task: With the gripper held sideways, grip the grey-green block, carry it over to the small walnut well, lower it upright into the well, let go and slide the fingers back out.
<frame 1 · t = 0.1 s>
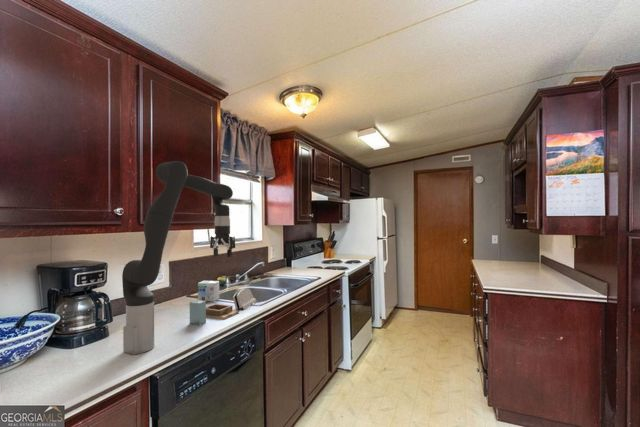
hand: (222, 256, 157), 29 cm above the counter, tool pointing down, fingers open, 8 cm apart
grey-green block: (197, 323, 144), on the counter
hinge: (244, 306, 172), on the counter
light bulb box: (208, 300, 186), on the counter
well: (217, 314, 157), on the counter
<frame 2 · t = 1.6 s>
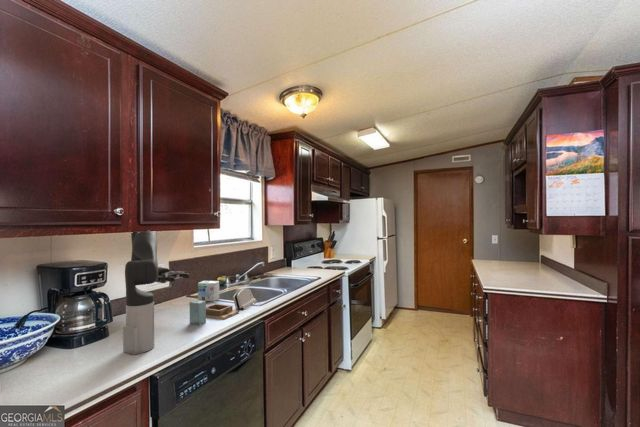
hand: (181, 277, 149), 20 cm above the counter, tool horizontal, fingers open, 8 cm apart
nothing on the counter moved.
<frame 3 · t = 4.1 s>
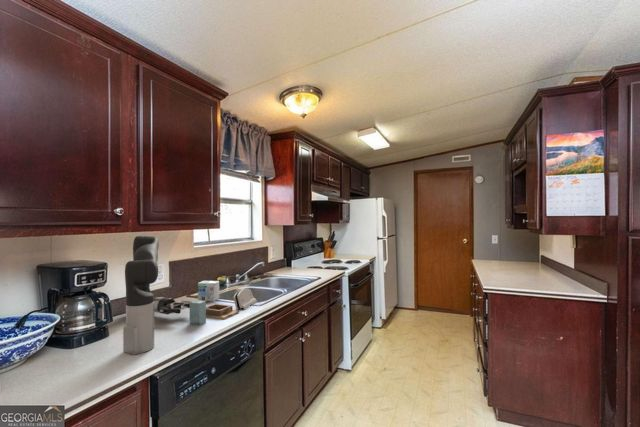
hand: (187, 308, 147), 6 cm above the counter, tool horizontal, fingers open, 8 cm apart
nothing on the counter moved.
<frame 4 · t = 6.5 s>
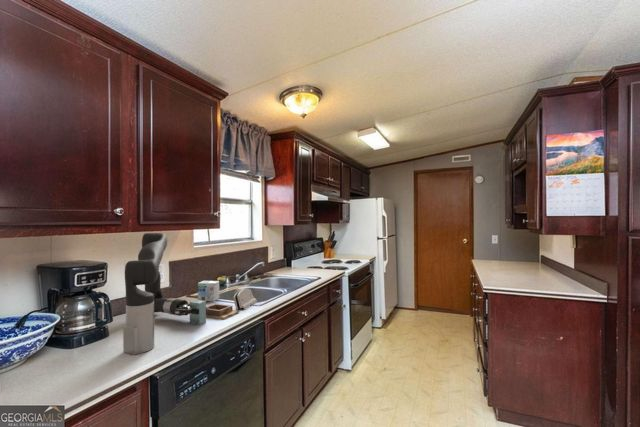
hand: (202, 310, 143), 6 cm above the counter, tool horizontal, fingers closed on grey-green block, 4 cm apart
grey-green block: (197, 322, 144), on the counter, touching gripper
everything else where it was.
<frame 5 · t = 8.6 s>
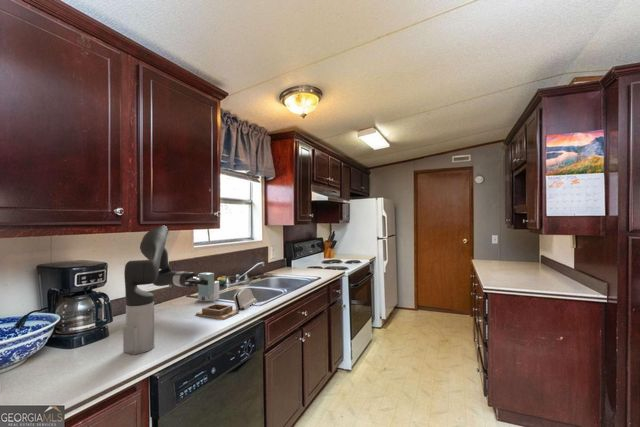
hand: (210, 282, 150), 18 cm above the counter, tool horizontal, fingers closed on grey-green block, 4 cm apart
grey-green block: (206, 293, 151), point 12 cm above the counter, touching gripper
everything else where it was.
when the fingers open (9 cm above the counter, at t = 11.1 s): grey-green block drops 2 cm, resting on well.
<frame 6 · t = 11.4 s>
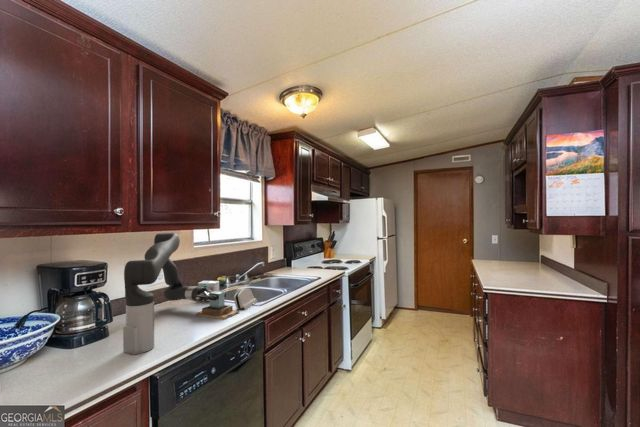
hand: (221, 296, 156), 9 cm above the counter, tool horizontal, fingers open, 6 cm apart
grey-green block: (217, 312, 157), point 1 cm above the counter, touching well
everything else where it was.
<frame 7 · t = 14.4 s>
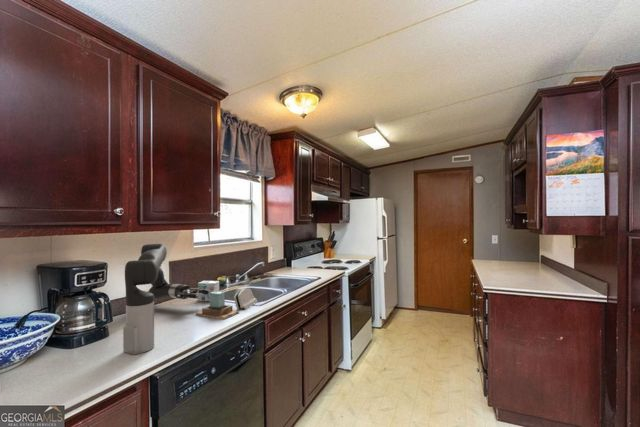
hand: (202, 294, 162), 9 cm above the counter, tool horizontal, fingers open, 8 cm apart
nothing on the counter moved.
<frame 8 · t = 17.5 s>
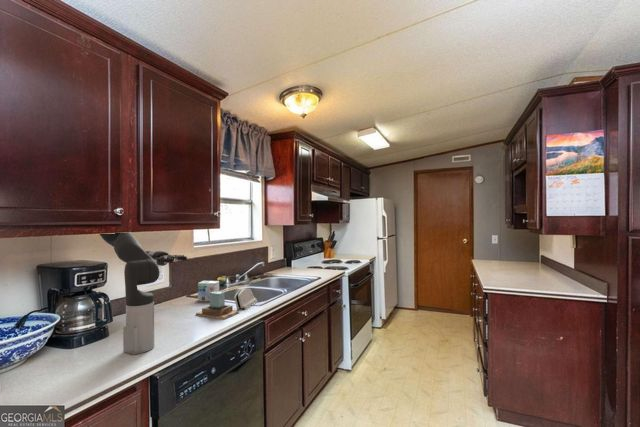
hand: (179, 259, 157), 28 cm above the counter, tool horizontal, fingers open, 8 cm apart
nothing on the counter moved.
at the end: grey-green block 0.1 cm off-centre on the well, point 1.0 cm above the well's base; grey-green block tilted 0°; the gripper is holding nothing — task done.
